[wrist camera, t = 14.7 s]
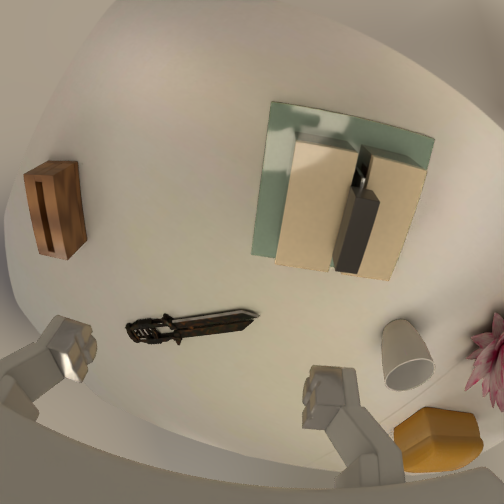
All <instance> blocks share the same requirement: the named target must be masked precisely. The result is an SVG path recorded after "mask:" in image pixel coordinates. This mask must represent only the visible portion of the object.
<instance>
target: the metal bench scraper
mask: <svg viewBox="0 0 504 504" xmlns="http://www.w3.org/2000/svg"><path fill="white" fill-rule="evenodd" d="M365 180H366V178H365V177H364V176H363V174H362V173H361V171H360V170H359V168H358V167H357V166H356V167H355V172H354V176H353V180H352V184H351V186H350V189H349V193H348V197H347V201H346V205H345V209H344V213H343V217H342V220H341V224H340V228H339V232H338V235H337V239H336V243H335V246H334V250H333V253H332V258H333V263H334V268H335V271H338V272H345V273H352V274H357V273H358V271H359V268H360V265H361V262H362V259H363V256H364V253H365V250H366V247H367V244H368V241H369V238H370V235H371V231H372V228H373V225H374V222H375V218H376V215H377V212H378V208H379V205H380V201H379V199H378V198H377V196H376V195H375V193H374V192H373V190H369V189H364V184H365Z"/></svg>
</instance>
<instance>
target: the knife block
mask: <svg viewBox="0 0 504 504" xmlns="http://www.w3.org/2000/svg"><path fill="white" fill-rule="evenodd" d="M23 175H24V182H25V188H26V194H27V200H28V206H29V211H30V216H31V221H32V225H33V230H34V234H35V238H36V243H37V247H38V251H39V254H41V255H45V256H50V257H54V258H59V259H63V260H69V258H70V257H71V256H72V255H73V254H74V253H75V252H76V251H77V250H78V249H79V248H80V247H81V246H82V245H83V244H84V243H85V242H86V241H87V236H86V230H85V223H84V216H83V209H82V201H81V192H80V183H79V172H78V162H77V161H47V162H45V163H43V164H41V165H39V166H37V167H36V168H34V169H32V170H30V171H28V172H27V173H25V174H23Z"/></svg>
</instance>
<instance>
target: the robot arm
mask: <svg viewBox="0 0 504 504" xmlns="http://www.w3.org/2000/svg"><path fill="white" fill-rule="evenodd" d="M92 332H93V331H92V328H91V325H88V324H85V323H82V322H79V321H75V320H72V319H69V318H66V317H63V316H60V315H57V316H55V317H54V318H53V319H52V321H51V322H50V323H49V325H48V326H47V328H46V329H45V330H44V332H43V333H42V335H41V336H40V338H39V339H38V341H37V342H36V343H34V342H33V343H31V344H29V345H27V346H25V347H23V348H21V349H19V350H18V351H16V352H14V353H12V354H10V355H8V356H7V357H5V358H3V359H1V360H0V504H504V483H503V482H502V481H501V480H500V479H499V478H498V477H497V476H496V475H495V474H494V473H493V472H492V471H491V470H489V469H488V468H486V467H478V468H474V469H470V470H467V471H462V472H459V473H454V474H450V475H445V476H441V477H436V478H431V479H425V480H419V481H413V482H406V483H405V474H404V466H403V459H402V452H401V450H400V449H399V447H398V446H397V445H396V444H395V443H394V441H393V440H392V439H391V438H390V437H389V435H388V434H387V433H386V432H385V431H384V430H383V428H382V427H381V426H380V425H379V424H378V422H377V421H376V420H375V419H374V418H373V416H372V415H371V414H370V413H369V412H368V411H367V409H366V408H365V407H361V405H360V398H359V390H358V383H357V376H356V370H355V369H354V368H344V367H334V366H319V365H313V366H312V367H311V369H310V377H308V378H306V381H305V384H304V388H303V398H302V402H303V404H304V405H305V408H304V410H303V412H302V428H304V429H317V430H325V432H326V434H327V436H328V437H329V439H330V440H331V442H332V444H333V445H334V447H335V449H336V450H337V452H338V453H339V455H340V457H341V458H342V460H343V461H344V463H345V465H346V466H347V468H346V469H345V470H344V471H342V472H341V473H340V474H339V475H338V476H337V477H335V488H334V489H306V488H305V489H304V488H282V487H268V486H257V485H247V484H239V483H231V482H225V481H218V480H212V479H207V478H201V477H196V476H191V475H186V474H182V473H177V472H173V471H169V470H165V469H161V468H157V467H153V466H149V465H146V464H142V463H139V462H135V461H132V460H129V459H126V458H123V457H120V456H117V455H113V454H111V453H108V452H105V451H102V450H99V449H97V448H94V447H92V446H89V445H86V444H84V443H81V442H79V441H76V440H74V439H72V438H69V437H67V436H65V435H62V434H60V433H58V432H56V431H54V430H51V429H49V428H47V427H45V426H43V425H41V424H39V423H37V422H36V420H37V418H38V416H39V410H38V409H37V408H36V407H35V405H34V404H33V403H32V402H34V401H35V400H36V399H38V398H39V397H40V396H42V395H43V394H44V393H46V392H47V391H48V390H50V389H51V388H52V387H54V386H55V385H56V384H58V383H59V382H60V381H62V380H63V379H64V377H65V378H67V379H70V380H73V381H76V382H79V383H82V382H83V380H84V378H85V376H86V374H87V372H88V366H87V365H88V364H90V363H92V362H93V360H94V358H95V356H96V352H97V342H96V339H95V338H94V337H93V336H92V335H91V333H92Z"/></svg>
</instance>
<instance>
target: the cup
mask: <svg viewBox="0 0 504 504" xmlns="http://www.w3.org/2000/svg"><path fill="white" fill-rule="evenodd" d="M381 345H382V366H383V373H384V380H385V385H386V387H387V388H388V389H390V390H393V391H407V390H411V389H414V388H416V387H418V386H420V385H422V384H424V383H425V382H426V381H428V380H429V379H430V378H431V376H432V375H433V373H434V371H435V364H434V362H433V359H432V357H431V355H430V353H429V350H428V348H427V346H426V344H425V342H424V341H423V339H422V338H421V336H420V335H419V333H418V331H417V330H416V329H415V328H414V327H413V326H412V325H411V324H410V323H409V322H408V321H407V320H404V319H398V320H395V321H392V322H390V323H389V324H388V325H387V326H386V327H385V328H384V330H383V336H382V344H381Z"/></svg>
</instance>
